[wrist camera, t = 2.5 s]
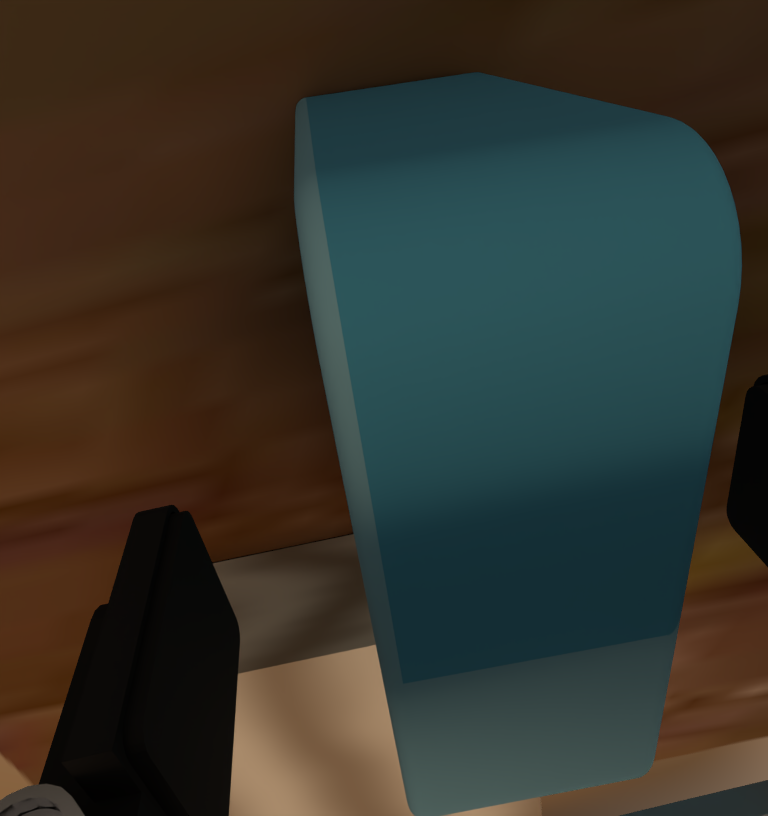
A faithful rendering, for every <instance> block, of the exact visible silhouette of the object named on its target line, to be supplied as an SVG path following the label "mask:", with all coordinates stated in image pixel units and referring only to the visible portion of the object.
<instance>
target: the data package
mask: <svg viewBox="0 0 768 816" xmlns="http://www.w3.org/2000/svg"><path fill="white" fill-rule="evenodd" d="M294 205H295V215H296V223H297V231H298V238H299V246H300V252H301V259H302V266H303V272H304V278H305V284H306V290H307V296H308V302H309V308H310V314H311V319H312V325H313V331H314V336H315V341H316V347H317V352H318V357H319V362H320V367H321V372H322V377H323V382H324V387H325V392H326V397H327V402H328V408H329V413H330V418H331V423H332V428H333V433H334V438H335V443H336V448H337V453H338V458H339V463H340V468H341V473H342V478H343V483H344V488H345V493H346V498H347V503H348V508H349V513H350V518H351V523H352V528H353V533H354V538H355V543H356V548H357V553H358V558H359V563H360V568H361V573H362V578H363V583H364V588H365V593H366V598H367V603H368V608H369V613H370V618H371V623H372V628H373V633H374V638H375V643H376V648H377V653H378V658H379V663H380V669H381V674H382V679H383V684H384V689H385V694H386V699H387V704H388V709H389V714H390V719H391V724H392V729H393V734H394V739H395V744H396V749H397V754H398V759H399V764H400V769H401V774H402V779H403V784H404V789H405V794H406V799H407V803H408V806H409V809H410V811H411V812H412V814H413V815H415V816H443V815H448V814H454V813H459V812H464V811H469V810H474V809H480V808H485V807H490V806H495V805H500V804H505V803H511V802H516V801H521V800H526V799H531V798H537V797H542V796H547V795H552V794H557V793H562V792H567V791H573V790H578V789H583V788H588V787H593V786H599V785H604V784H609V783H614V782H619V781H624V780H630V779H635V778H639V777H642V776H643V775H645V774H646V773H647V772H648V771H649V770H650V768H651V766H652V764H653V761H654V757H655V752H656V747H657V741H658V736H659V730H660V725H661V720H662V714H663V709H664V703H665V698H666V693H667V687H668V682H669V676H670V671H671V666H672V660H673V655H674V649H675V644H676V639H677V633H678V628H679V622H680V617H681V611H682V606H683V601H684V595H685V590H686V584H687V579H688V574H689V568H690V563H691V557H692V552H693V547H694V541H695V536H696V530H697V525H698V520H699V514H700V509H701V503H702V498H703V493H704V487H705V482H706V476H707V471H708V466H709V460H710V455H711V449H712V444H713V439H714V433H715V428H716V422H717V417H718V412H719V406H720V401H721V395H722V390H723V385H724V379H725V374H726V368H727V363H728V358H729V352H730V347H731V341H732V336H733V331H734V325H735V320H736V314H737V309H738V303H739V296H740V288H741V273H742V252H741V238H740V229H739V223H738V217H737V212H736V207H735V203H734V200H733V196H732V193H731V189H730V186H729V184H728V181H727V179H726V176H725V174H724V171H723V169H722V167H721V165H720V163H719V161H718V160H717V158H716V156H715V154H714V153H713V151H712V150H711V149H710V147H709V146H708V144H707V143H706V142H705V141H704V140H703V138H702V137H701V136H700V135H699V134H698V133H697V132H696V131H695V130H693V129H692V128H690V127H689V126H687V125H686V124H685V123H683V122H681V121H679V120H676V119H673V118H671V117H667V116H663V115H659V114H654V113H650V112H646V111H642V110H637V109H633V108H629V107H624V106H620V105H616V104H612V103H607V102H603V101H599V100H595V99H590V98H586V97H582V96H578V95H573V94H569V93H565V92H560V91H556V90H552V89H548V88H543V87H539V86H535V85H531V84H526V83H522V82H518V81H514V80H509V79H505V78H501V77H497V76H492V75H488V74H484V73H479V72H475V73H468V74H461V75H454V76H447V77H441V78H434V79H427V80H421V81H414V82H407V83H400V84H394V85H387V86H380V87H374V88H367V89H360V90H353V91H347V92H340V93H333V94H326V95H320V96H313V97H306V98H303V99H301V100H300V101H299V102H298V103H297V105H296V110H295V168H294Z"/></svg>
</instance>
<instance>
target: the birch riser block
mask: <svg viewBox="0 0 768 816" xmlns="http://www.w3.org/2000/svg"><path fill="white" fill-rule="evenodd" d="M213 566H214V568H215V570H216V572H217V575H218V577H219V579H220V582H221V584H222V586H223V588H224V591H225V593H226V595H227V598H228V600H229V602H230V604H231V607H232V609H233V611H234V613H235V616H236V618H237V621H238V625H239V631H240V651H239V667H238V682H237V697H236V713H235V728H234V744H233V759H232V775H231V790H230V806H229V816H415V815H413V814H412V812H411V811H410V809H409V806H408V803H407V799H406V794H405V789H404V784H403V779H402V774H401V769H400V764H399V759H398V754H397V749H396V744H395V739H394V734H393V729H392V724H391V719H390V714H389V709H388V704H387V699H386V694H385V689H384V684H383V679H382V674H381V669H380V663H379V658H378V653H377V648H376V643H375V638H374V633H373V628H372V623H371V618H370V613H369V608H368V603H367V598H366V593H365V588H364V583H363V578H362V573H361V568H360V563H359V558H358V553H357V548H356V543H355V538H354V534H352V535H347V536H342V537H337V538H333V539H328V540H323V541H318V542H313V543H309V544H304V545H299V546H294V547H289V548H284V549H280V550H275V551H270V552H265V553H260V554H256V555H251V556H246V557H241V558H236V559H231V560H227V561H222V562H217V563H213ZM443 816H542V809H541V797H537V798H531V799H526V800H521V801H516V802H511V803H505V804H500V805H495V806H490V807H485V808H480V809H474V810H469V811H464V812H459V813H454V814H448V815H443Z"/></svg>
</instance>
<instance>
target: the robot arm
mask: <svg viewBox="0 0 768 816" xmlns="http://www.w3.org/2000/svg"><path fill="white" fill-rule="evenodd" d="M727 516H728V519H729V522H730V524H731V526H732V527H733V528H734V530H735V531H736V532H737V533H738V534H739V535H740V537H741V538H742V539H743V540H744V541H745V542H746V543H747V544H748V546H749V547H750V548H751V549H752V550H753V551H754V552H755V553H756V554H757V556H758V557H759V558H760V559H761V560H762V561H763V562H764V563H765V564H766V566H767V567H768V374H767V375H763V376H761V377H759V378H758V379H757V380H756V381H755V384H754V387H751V388H749V390H748V391H747V393H746V397H745V403H744V409H743V415H742V421H741V427H740V432H739V438H738V444H737V450H736V456H735V462H734V467H733V473H732V479H731V485H730V491H729V497H728V502H727ZM239 651H240V631H239V625H238V621H237V618H236V616H235V613H234V611H233V609H232V607H231V604H230V602H229V600H228V598H227V595H226V593H225V591H224V588H223V586H222V584H221V582H220V579H219V577H218V575H217V572H216V570H215V568H214V566H213V563H212V561H211V559H210V557H209V554H208V552H207V550H206V547H205V545H204V543H203V541H202V538H201V536H200V534H199V531H198V529H197V527H196V525H195V522H194V520H193V518H192V516H191V514H190V513H189V512H188V511H183V512H179V511H178V509H177V508H176V507H175V506H174V505H169V506H164V507H160V508H155V509H150V510H146V511H141V512H138V513H137V514H135V517H134V519H133V522H132V525H131V529H130V532H129V536H128V539H127V542H126V546H125V549H124V552H123V556H122V559H121V563H120V566H119V569H118V573H117V576H116V580H115V583H114V586H113V590H112V593H111V596H110V600H109V603H108V604H104V605H100V606H99V607H98V608H97V609H96V610H95V612H94V614H93V617H92V619H91V622H90V625H89V628H88V631H87V634H86V637H85V640H84V644H83V647H82V650H81V653H80V656H79V659H78V663H77V666H76V669H75V672H74V675H73V678H72V681H71V685H70V688H69V691H68V694H67V697H66V700H65V704H64V707H63V710H62V713H61V716H60V719H59V722H58V726H57V729H56V732H55V735H54V738H53V741H52V745H51V748H50V751H49V754H48V757H47V760H46V763H45V767H44V770H43V773H42V776H41V779H40V782H39V785H33V786H27V787H25V788H23V789H20V790H18V791H16V792H14V793H11V794H9V795H7V796H6V797H4V798H3V799H2V800H0V816H229V806H230V790H231V775H232V759H233V744H234V728H235V713H236V697H237V682H238V667H239ZM620 816H768V780H766V781H762V782H758V783H754V784H750V785H745V786H741V787H737V788H733V789H729V790H724V791H720V792H716V793H712V794H708V795H704V796H699V797H695V798H691V799H687V800H683V801H678V802H674V803H670V804H666V805H662V806H658V807H654V808H649V809H645V810H642V811H637V812H633V813H629V814H625V815H620Z"/></svg>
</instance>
